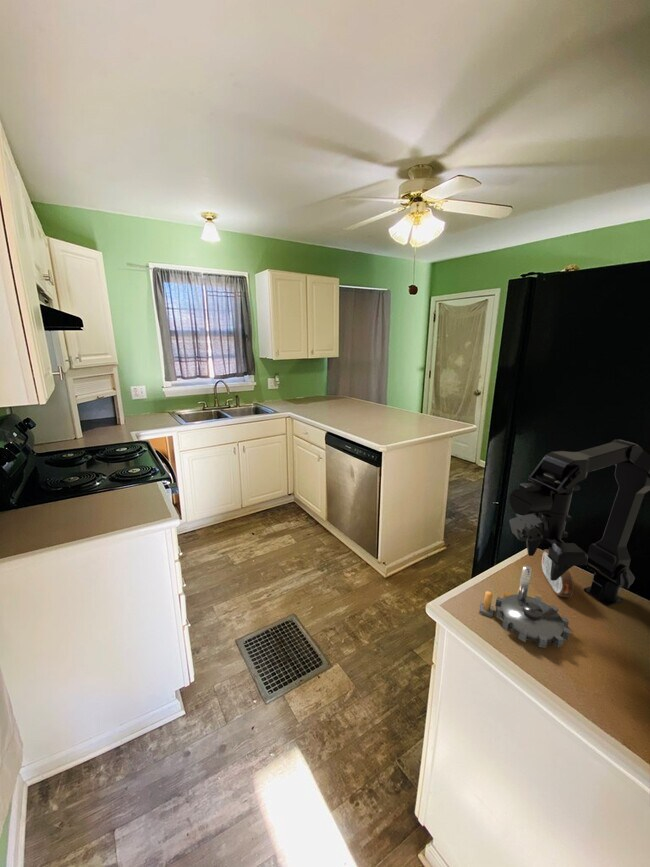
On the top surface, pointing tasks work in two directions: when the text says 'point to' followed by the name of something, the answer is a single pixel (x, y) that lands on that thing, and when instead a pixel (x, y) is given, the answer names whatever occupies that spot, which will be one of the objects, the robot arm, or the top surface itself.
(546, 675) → the top surface
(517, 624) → the sprocket
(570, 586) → the tin
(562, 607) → the top surface
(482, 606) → the rounded peg on base
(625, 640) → the top surface
